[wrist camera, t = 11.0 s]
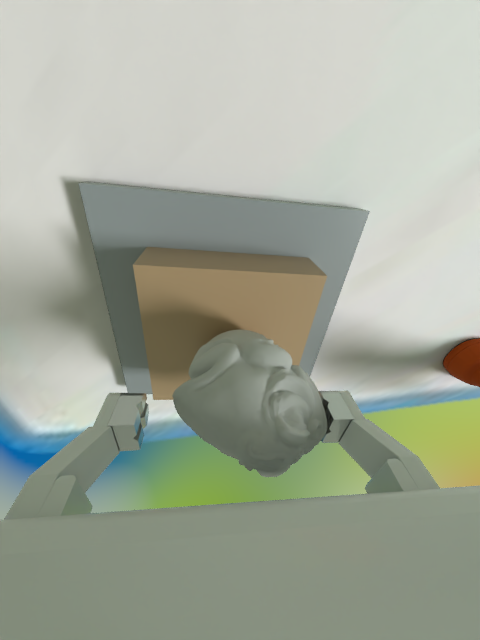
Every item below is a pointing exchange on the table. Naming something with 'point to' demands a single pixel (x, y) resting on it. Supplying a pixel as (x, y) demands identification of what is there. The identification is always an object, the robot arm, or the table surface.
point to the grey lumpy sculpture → (252, 402)
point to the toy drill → (465, 362)
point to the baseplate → (209, 231)
